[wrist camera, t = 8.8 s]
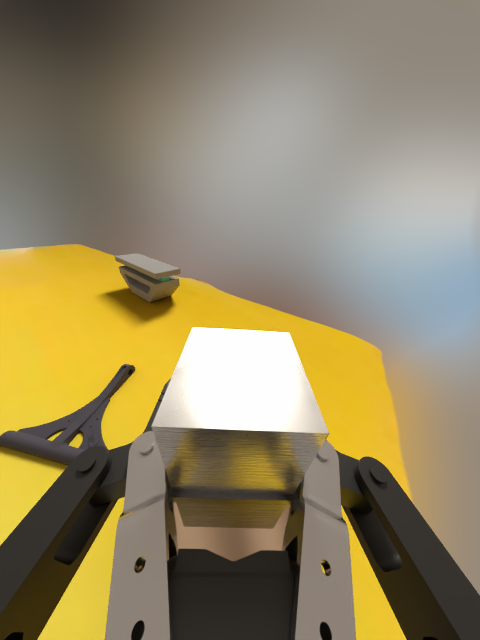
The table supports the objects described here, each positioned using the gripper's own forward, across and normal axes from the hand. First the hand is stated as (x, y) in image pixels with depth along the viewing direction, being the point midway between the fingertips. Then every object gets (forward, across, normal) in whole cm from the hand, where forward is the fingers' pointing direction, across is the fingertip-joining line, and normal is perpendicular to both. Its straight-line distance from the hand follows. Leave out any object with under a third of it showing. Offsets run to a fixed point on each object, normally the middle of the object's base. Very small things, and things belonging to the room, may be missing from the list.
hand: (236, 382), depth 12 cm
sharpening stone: (+51, +30, +18) cm, 62 cm away
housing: (-3, 0, +6) cm, 7 cm away
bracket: (+10, +20, +19) cm, 29 cm away
